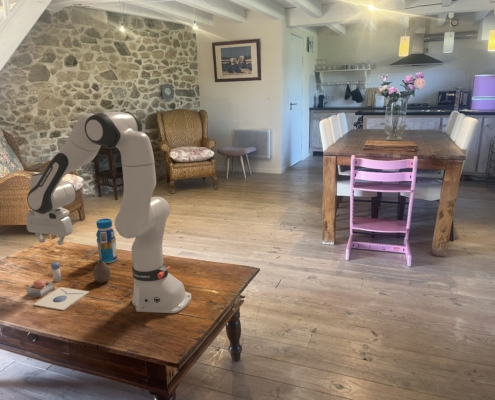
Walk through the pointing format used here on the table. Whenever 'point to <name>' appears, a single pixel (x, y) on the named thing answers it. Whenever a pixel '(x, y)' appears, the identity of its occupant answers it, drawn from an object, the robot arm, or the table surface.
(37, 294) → the button housing
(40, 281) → the button
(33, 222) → the robot arm
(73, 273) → the table surface
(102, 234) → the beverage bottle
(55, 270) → the dome-topped peg
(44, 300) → the drawing pad
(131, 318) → the table surface
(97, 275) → the vase
